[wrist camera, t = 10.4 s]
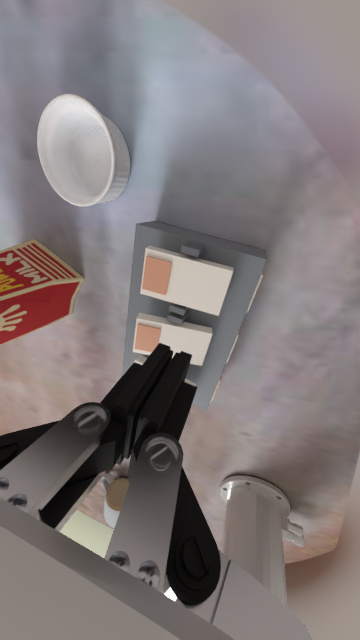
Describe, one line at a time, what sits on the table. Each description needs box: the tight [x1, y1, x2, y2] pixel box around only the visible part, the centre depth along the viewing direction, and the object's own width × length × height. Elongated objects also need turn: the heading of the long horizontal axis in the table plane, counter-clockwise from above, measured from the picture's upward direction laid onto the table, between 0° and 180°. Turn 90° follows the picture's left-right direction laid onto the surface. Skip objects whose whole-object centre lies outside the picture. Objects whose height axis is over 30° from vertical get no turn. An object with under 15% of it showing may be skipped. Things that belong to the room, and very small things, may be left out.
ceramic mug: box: [102, 473, 130, 527], centre depth 55 cm, size 11×8×8 cm
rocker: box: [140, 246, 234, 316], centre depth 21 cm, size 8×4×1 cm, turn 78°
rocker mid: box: [133, 313, 213, 366], centre depth 25 cm, size 8×4×1 cm, turn 78°
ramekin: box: [37, 94, 130, 206], centre depth 24 cm, size 9×9×4 cm
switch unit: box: [122, 221, 267, 410], centre depth 27 cm, size 13×21×7 cm, turn 169°
